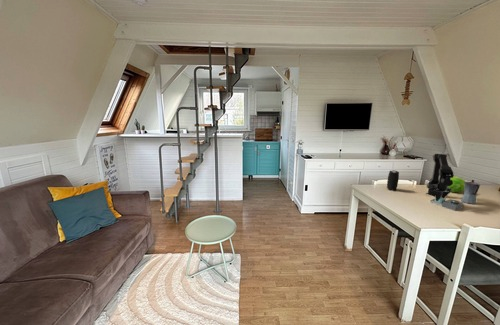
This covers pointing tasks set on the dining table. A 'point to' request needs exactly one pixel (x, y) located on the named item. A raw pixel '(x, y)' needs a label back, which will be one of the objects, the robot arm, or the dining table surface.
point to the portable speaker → (392, 180)
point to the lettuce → (457, 184)
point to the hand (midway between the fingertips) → (439, 200)
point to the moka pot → (470, 192)
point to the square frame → (449, 204)
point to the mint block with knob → (440, 200)
